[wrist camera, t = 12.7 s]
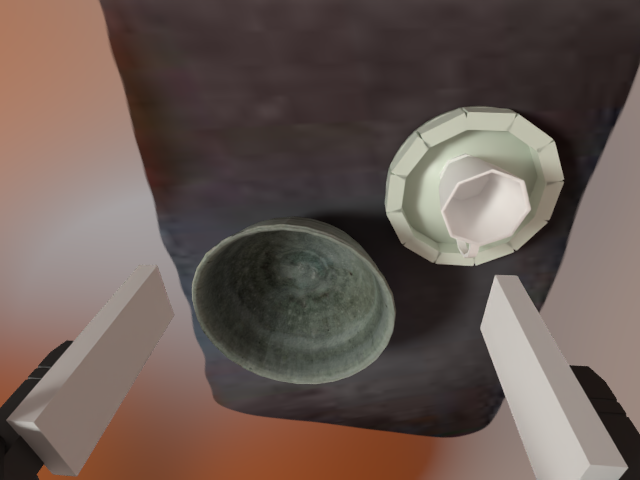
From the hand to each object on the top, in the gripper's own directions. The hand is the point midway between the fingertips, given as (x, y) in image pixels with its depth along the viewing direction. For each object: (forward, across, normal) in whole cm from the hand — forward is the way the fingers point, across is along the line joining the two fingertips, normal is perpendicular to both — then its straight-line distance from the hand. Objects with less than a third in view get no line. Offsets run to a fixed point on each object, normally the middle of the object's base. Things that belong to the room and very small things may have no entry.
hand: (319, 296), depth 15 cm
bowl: (+25, -5, -17) cm, 31 cm away
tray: (+25, +12, -6) cm, 29 cm away
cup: (+24, +12, -6) cm, 28 cm away
